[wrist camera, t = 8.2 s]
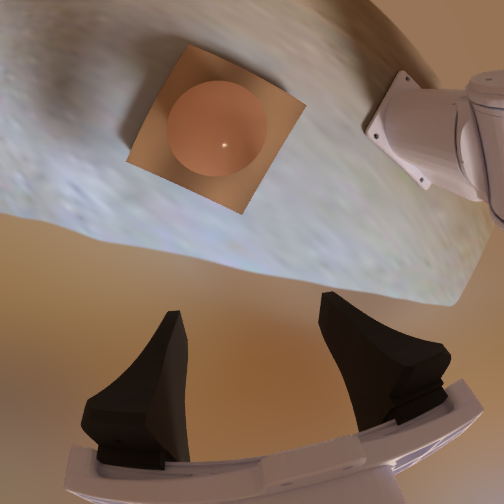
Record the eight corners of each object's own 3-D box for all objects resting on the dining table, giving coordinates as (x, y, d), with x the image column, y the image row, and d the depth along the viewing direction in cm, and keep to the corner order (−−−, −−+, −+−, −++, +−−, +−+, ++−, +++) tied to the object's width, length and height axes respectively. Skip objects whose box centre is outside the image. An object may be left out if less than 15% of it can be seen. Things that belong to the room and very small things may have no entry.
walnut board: (295, 107, 18) (306, 105, 16) (238, 204, 21) (242, 214, 19) (191, 53, 15) (188, 44, 13) (135, 156, 18) (126, 161, 16)
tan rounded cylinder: (262, 112, 16) (283, 106, 11) (231, 173, 18) (240, 191, 13) (198, 85, 15) (193, 66, 10) (168, 147, 16) (151, 155, 11)
